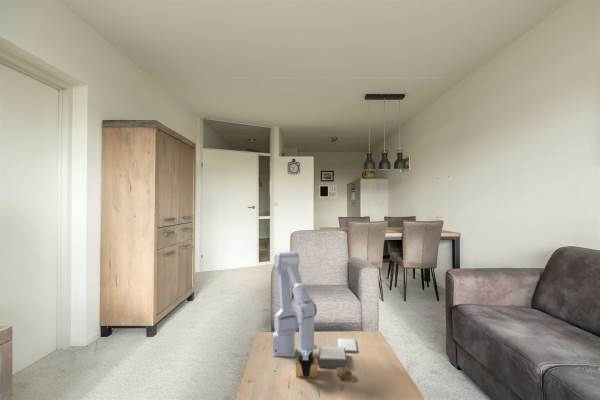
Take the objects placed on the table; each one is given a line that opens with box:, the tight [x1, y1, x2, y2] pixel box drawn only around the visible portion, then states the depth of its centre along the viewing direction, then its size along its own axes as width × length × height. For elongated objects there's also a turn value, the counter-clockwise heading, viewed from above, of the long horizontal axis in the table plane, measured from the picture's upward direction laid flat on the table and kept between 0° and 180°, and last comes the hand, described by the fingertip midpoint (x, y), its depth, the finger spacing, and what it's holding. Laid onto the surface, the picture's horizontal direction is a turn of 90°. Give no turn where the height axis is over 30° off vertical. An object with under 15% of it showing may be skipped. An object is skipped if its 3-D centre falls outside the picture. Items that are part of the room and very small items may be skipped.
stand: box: [318, 346, 348, 369], centre depth 124 cm, size 11×11×3 cm
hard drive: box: [337, 338, 358, 354], centre depth 138 cm, size 2×8×12 cm
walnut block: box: [336, 365, 352, 382], centre depth 112 cm, size 4×4×3 cm
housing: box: [295, 358, 319, 379], centre depth 114 cm, size 8×4×5 cm, turn 85°
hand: (306, 370), depth 114 cm, fingers open, 7 cm apart
